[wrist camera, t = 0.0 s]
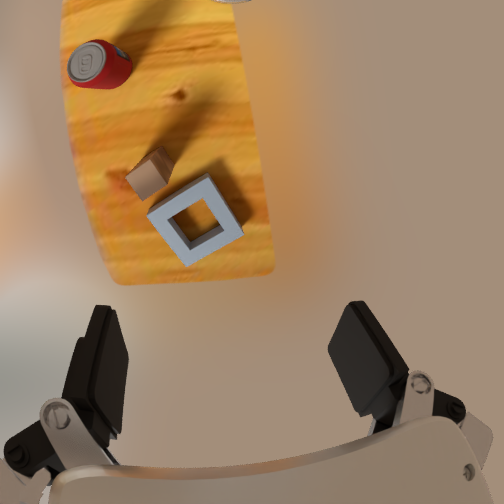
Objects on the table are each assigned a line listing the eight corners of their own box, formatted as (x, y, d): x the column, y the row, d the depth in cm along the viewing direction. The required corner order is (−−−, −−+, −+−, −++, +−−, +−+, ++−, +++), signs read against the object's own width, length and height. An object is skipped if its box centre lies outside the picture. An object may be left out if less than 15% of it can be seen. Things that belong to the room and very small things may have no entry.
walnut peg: (141, 159, 40) (125, 177, 31) (161, 145, 40) (150, 159, 30) (154, 178, 42) (142, 201, 33) (174, 165, 42) (167, 184, 32)
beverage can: (135, 48, 30) (113, 32, 20) (132, 87, 33) (108, 83, 23) (96, 54, 29) (64, 43, 19) (93, 92, 32) (60, 92, 22)
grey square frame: (149, 209, 45) (146, 215, 42) (207, 172, 43) (208, 177, 41) (186, 258, 51) (186, 267, 49) (241, 227, 50) (244, 234, 47)
